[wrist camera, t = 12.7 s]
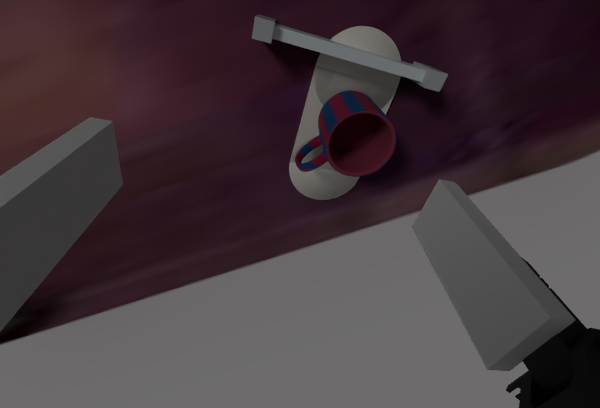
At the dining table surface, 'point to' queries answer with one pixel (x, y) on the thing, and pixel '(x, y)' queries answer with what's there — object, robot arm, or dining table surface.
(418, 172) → the dining table surface
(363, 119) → the cup
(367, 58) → the divider wall
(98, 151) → the robot arm
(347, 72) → the pad
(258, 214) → the dining table surface
